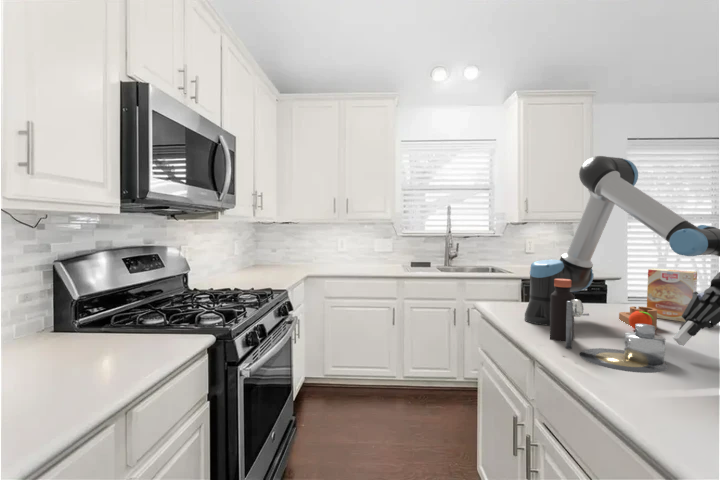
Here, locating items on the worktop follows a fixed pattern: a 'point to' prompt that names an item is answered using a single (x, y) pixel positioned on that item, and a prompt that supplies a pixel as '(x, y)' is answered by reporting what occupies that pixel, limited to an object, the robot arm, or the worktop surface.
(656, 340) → the cover
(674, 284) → the coffeecake box
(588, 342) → the worktop surface
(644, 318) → the clementine
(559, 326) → the bottle
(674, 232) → the robot arm
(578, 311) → the dial gauge stand
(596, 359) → the grey plate
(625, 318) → the bracket
